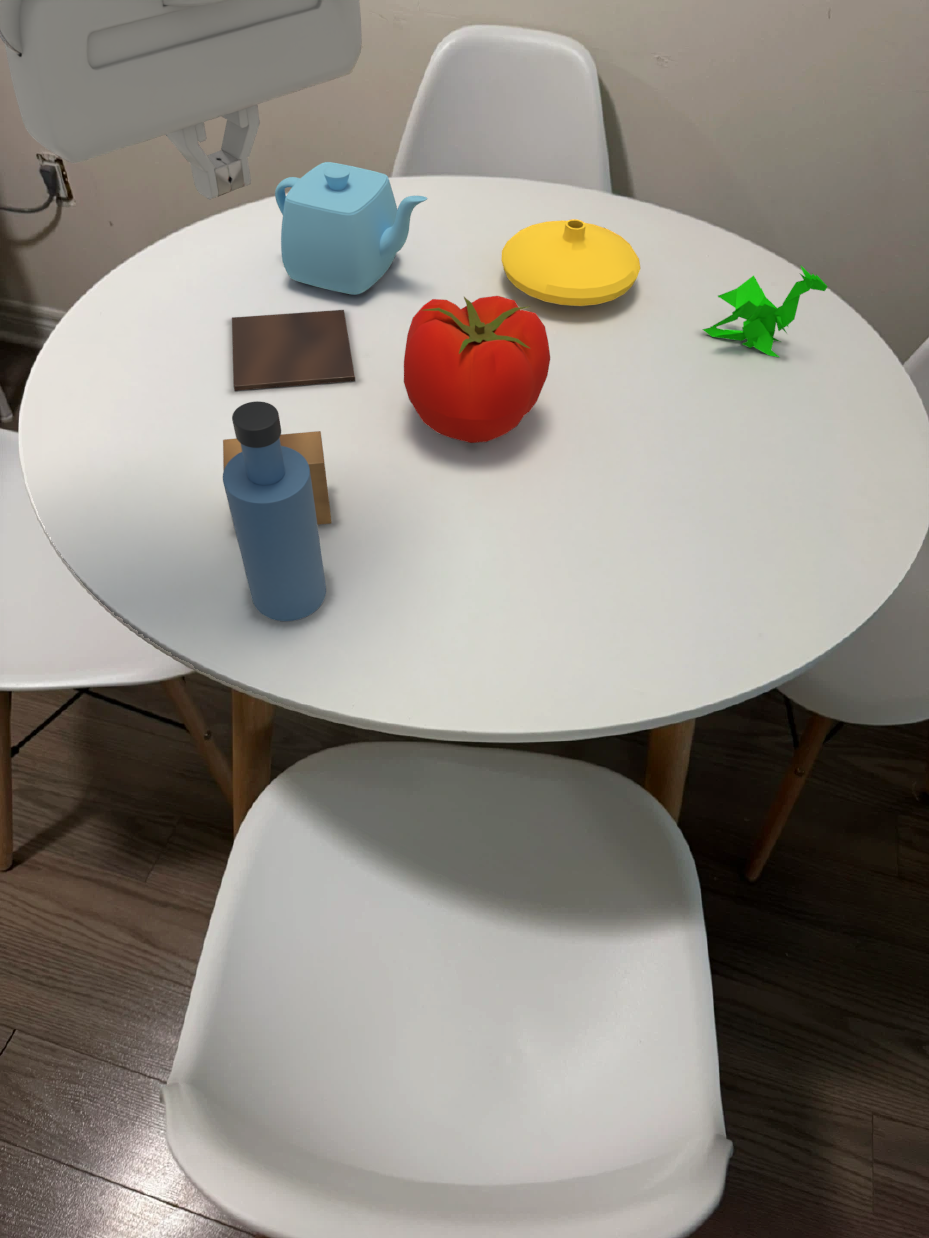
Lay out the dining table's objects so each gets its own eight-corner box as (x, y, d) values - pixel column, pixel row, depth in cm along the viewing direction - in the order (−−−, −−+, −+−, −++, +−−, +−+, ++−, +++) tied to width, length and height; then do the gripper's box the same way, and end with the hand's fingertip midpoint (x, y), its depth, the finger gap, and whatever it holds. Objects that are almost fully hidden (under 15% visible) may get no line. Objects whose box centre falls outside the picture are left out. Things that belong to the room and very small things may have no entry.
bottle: (257, 630, 72) (224, 592, 55) (241, 480, 74) (204, 396, 56) (330, 622, 73) (321, 581, 55) (313, 473, 75) (298, 388, 57)
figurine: (814, 367, 92) (829, 285, 85) (697, 362, 95) (701, 283, 88) (818, 335, 95) (832, 253, 89) (704, 331, 99) (710, 252, 92)
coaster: (234, 391, 87) (233, 386, 87) (232, 322, 94) (231, 317, 94) (355, 381, 89) (354, 376, 88) (344, 314, 96) (343, 309, 96)
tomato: (401, 461, 82) (397, 353, 72) (412, 368, 90) (410, 262, 81) (543, 468, 82) (558, 361, 72) (540, 375, 90) (553, 269, 81)
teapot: (406, 320, 96) (403, 217, 87) (259, 283, 99) (242, 180, 90) (447, 264, 103) (449, 164, 94) (309, 232, 107) (298, 133, 98)
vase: (479, 259, 104) (483, 199, 99) (600, 240, 108) (609, 182, 102) (530, 333, 95) (536, 272, 89) (659, 310, 99) (673, 250, 93)
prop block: (238, 533, 75) (223, 472, 70) (237, 500, 78) (222, 439, 72) (331, 523, 76) (324, 462, 71) (328, 492, 79) (320, 430, 73)
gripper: (2, -39, 37) (98, 271, 47) (373, -114, 46) (382, 158, 57) (-67, -75, 39) (39, 226, 50) (297, -139, 49) (320, 126, 59)
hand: (224, 189), depth 53 cm, fingers closed
